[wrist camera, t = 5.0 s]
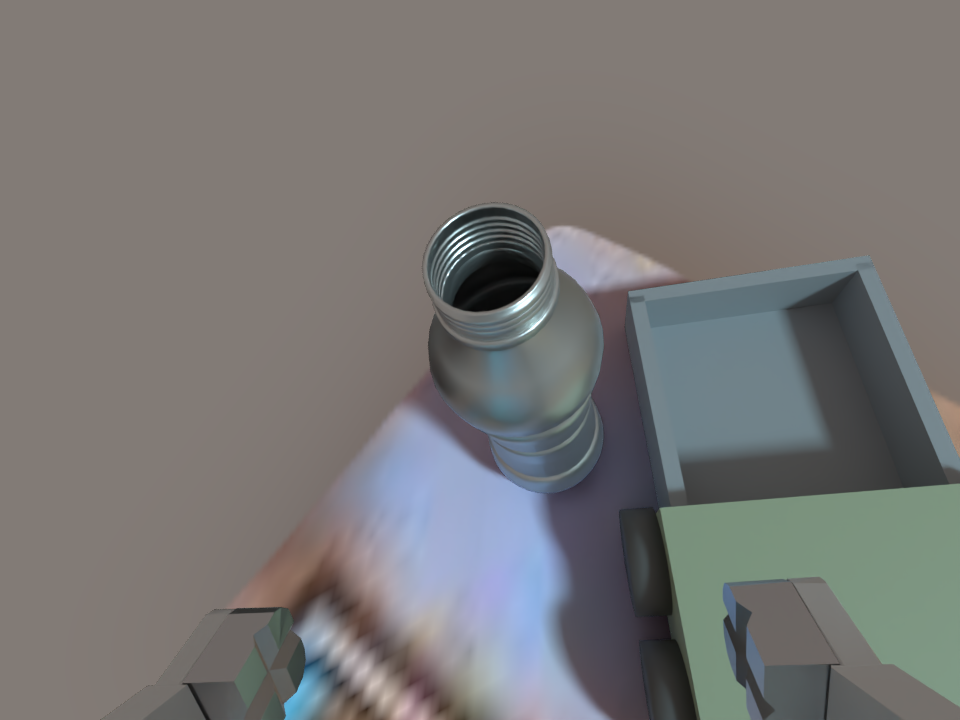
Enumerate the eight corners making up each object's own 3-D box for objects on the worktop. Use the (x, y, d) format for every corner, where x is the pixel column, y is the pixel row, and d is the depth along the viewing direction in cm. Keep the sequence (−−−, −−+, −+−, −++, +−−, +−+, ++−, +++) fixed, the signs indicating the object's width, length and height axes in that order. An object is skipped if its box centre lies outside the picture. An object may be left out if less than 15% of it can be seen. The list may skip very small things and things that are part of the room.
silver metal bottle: (606, 396, 32) (613, 153, 14) (600, 507, 30) (601, 379, 12) (504, 390, 34) (398, 164, 16) (490, 495, 31) (346, 365, 13)
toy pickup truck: (1077, 753, 22) (1232, 805, 16) (655, 755, 25) (670, 800, 19) (876, 292, 31) (933, 230, 26) (589, 332, 34) (586, 283, 29)
